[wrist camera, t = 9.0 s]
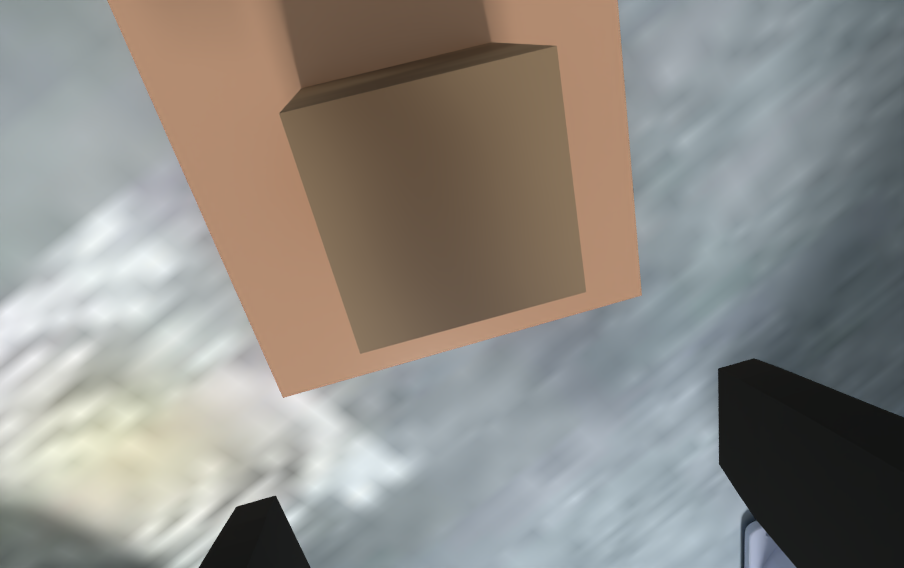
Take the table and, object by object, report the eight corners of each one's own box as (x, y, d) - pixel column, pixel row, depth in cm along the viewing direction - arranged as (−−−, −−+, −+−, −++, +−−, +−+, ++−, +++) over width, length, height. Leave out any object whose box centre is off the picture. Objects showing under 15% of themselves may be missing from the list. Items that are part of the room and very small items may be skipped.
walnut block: (491, 42, 14) (556, 45, 10) (521, 222, 17) (586, 292, 12) (301, 88, 14) (278, 113, 10) (357, 265, 16) (360, 354, 12)
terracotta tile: (595, -141, 14) (605, -148, 13) (633, 287, 19) (641, 295, 18) (105, -25, 13) (95, -28, 12) (284, 386, 18) (283, 397, 18)
